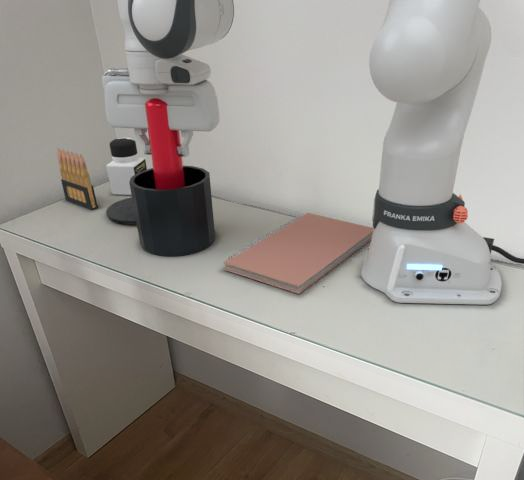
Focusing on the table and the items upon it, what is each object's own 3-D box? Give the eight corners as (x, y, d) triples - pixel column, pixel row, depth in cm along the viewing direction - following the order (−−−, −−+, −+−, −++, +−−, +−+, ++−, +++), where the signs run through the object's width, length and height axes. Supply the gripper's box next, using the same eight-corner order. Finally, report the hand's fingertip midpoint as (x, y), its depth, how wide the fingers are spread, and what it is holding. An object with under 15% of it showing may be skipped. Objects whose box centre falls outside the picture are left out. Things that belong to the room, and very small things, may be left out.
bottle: (167, 194, 103) (153, 81, 91) (191, 198, 101) (180, 82, 89) (152, 204, 99) (135, 86, 87) (176, 207, 97) (163, 88, 85)
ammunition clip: (98, 207, 121) (86, 154, 114) (91, 210, 120) (79, 155, 113) (72, 198, 127) (59, 146, 120) (65, 200, 126) (52, 148, 119)
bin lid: (189, 203, 122) (186, 180, 119) (159, 229, 110) (155, 205, 106) (128, 198, 126) (124, 176, 123) (93, 223, 113) (88, 199, 110)
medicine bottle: (139, 195, 127) (130, 143, 120) (111, 194, 128) (101, 143, 121) (150, 186, 132) (142, 135, 125) (123, 185, 134) (114, 135, 127)
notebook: (303, 219, 111) (303, 210, 110) (375, 237, 103) (376, 227, 102) (219, 269, 94) (218, 259, 93) (298, 295, 85) (299, 284, 84)
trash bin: (225, 229, 108) (220, 167, 101) (198, 260, 97) (190, 193, 90) (161, 223, 112) (152, 163, 105) (127, 252, 101) (114, 187, 94)
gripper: (89, 71, 87) (107, 156, 95) (204, 72, 82) (212, 163, 90) (109, 65, 92) (124, 147, 100) (219, 66, 87) (225, 152, 95)
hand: (166, 154), depth 95 cm, fingers closed on bottle, 5 cm apart
